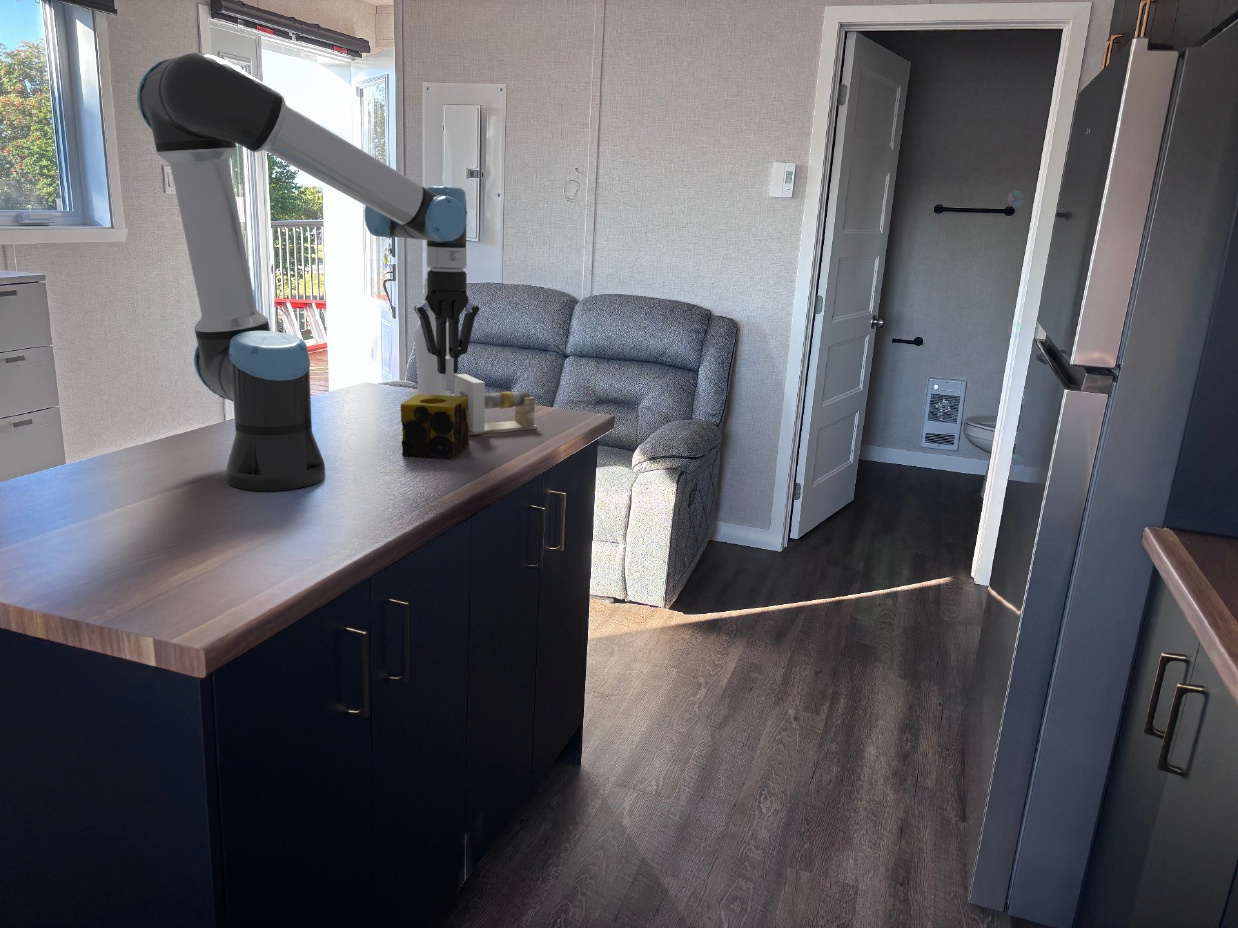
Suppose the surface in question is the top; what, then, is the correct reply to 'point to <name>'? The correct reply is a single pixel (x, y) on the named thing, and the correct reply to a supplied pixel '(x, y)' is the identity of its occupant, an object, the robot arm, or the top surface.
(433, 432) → the yellow cube with hole
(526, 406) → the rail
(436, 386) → the bottle
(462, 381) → the upright white plank
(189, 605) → the top surface
